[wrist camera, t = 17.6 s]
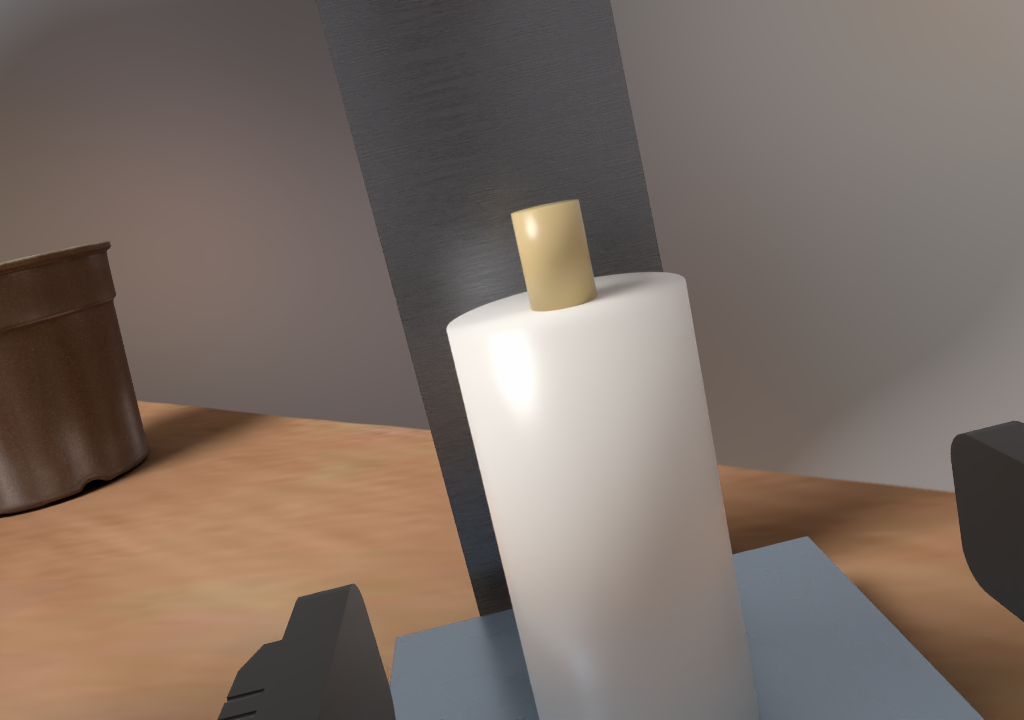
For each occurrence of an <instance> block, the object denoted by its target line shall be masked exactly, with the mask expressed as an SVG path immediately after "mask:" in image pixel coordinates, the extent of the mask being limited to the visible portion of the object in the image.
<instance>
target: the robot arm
mask: <svg viewBox="0 0 1024 720" xmlns="http://www.w3.org/2000/svg"><path fill="white" fill-rule="evenodd" d="M951 463H952V470H953V477H954V485H955V494H956V501H957V509H958V517H959V524H960V532H961V540H962V546H963V551H964V555H965V558H966V561H967V563H968V566H969V568H970V570H971V572H972V574H973V576H974V577H975V579H976V581H977V582H978V583H979V585H980V586H981V587H982V588H983V590H984V591H985V592H986V593H988V594H989V595H990V596H991V597H993V598H994V599H995V600H996V601H998V602H999V603H1000V604H1001V605H1003V606H1004V607H1005V608H1007V609H1008V610H1009V611H1010V612H1012V613H1013V614H1014V615H1015V616H1017V617H1018V618H1019V619H1021V620H1022V621H1023V622H1024V423H1022V422H1019V421H1011V422H1007V423H1003V424H999V425H995V426H991V427H987V428H983V429H980V430H975V431H971V432H967V433H963V434H959V435H957V436H956V437H955V438H954V440H953V442H952V445H951ZM227 701H228V702H227V703H224V706H223V708H222V710H221V713H220V715H219V717H218V720H396V718H395V710H394V704H393V699H392V695H391V691H390V687H389V684H388V680H387V677H386V674H385V670H384V667H383V664H382V660H381V657H380V654H379V650H378V647H377V644H376V640H375V637H374V634H373V630H372V627H371V624H370V620H369V617H368V614H367V610H366V607H365V604H364V601H363V598H362V595H361V593H360V591H359V589H358V587H357V586H356V585H355V584H350V585H346V586H342V587H338V588H334V589H330V590H326V591H322V592H318V593H314V594H310V595H306V596H302V597H299V598H298V599H297V601H296V603H295V606H294V609H293V611H292V614H291V617H290V620H289V622H288V625H287V628H286V631H285V633H284V636H283V639H282V640H280V641H276V642H272V643H268V644H264V645H263V646H262V647H261V648H260V649H259V650H258V651H257V652H256V653H255V654H254V655H253V656H252V657H251V659H250V660H249V661H248V662H247V663H246V664H245V665H244V666H243V667H242V668H241V669H240V670H239V671H238V673H237V675H236V678H235V680H234V682H233V685H232V687H231V689H230V692H229V694H228V696H227Z"/></svg>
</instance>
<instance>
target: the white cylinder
mask: <svg viewBox="0 0 1024 720" xmlns="http://www.w3.org/2000/svg"><path fill="white" fill-rule="evenodd" d="M511 217H512V222H513V227H514V231H515V236H516V241H517V245H518V250H519V255H520V259H521V264H522V269H523V274H524V278H525V283H526V288H527V292H523V293H520V294H516V295H513V296H509V297H506V298H503V299H500V300H497V301H494V302H491V303H488V304H485V305H483V306H480V307H478V308H475V309H473V310H471V311H469V312H466V313H465V314H463V315H461V316H459V317H457V318H456V319H454V320H453V321H452V322H450V323H449V325H448V326H447V329H446V330H447V334H448V338H449V343H450V347H451V351H452V355H453V359H454V363H455V368H456V372H457V376H458V380H459V384H460V389H461V393H462V397H463V401H464V405H465V410H466V414H467V418H468V422H469V426H470V431H471V435H472V439H473V443H474V447H475V452H476V456H477V460H478V464H479V468H480V473H481V477H482V481H483V485H484V489H485V494H486V498H487V502H488V506H489V510H490V514H491V519H492V523H493V527H494V531H495V535H496V540H497V544H498V548H499V552H500V556H501V561H502V565H503V569H504V573H505V577H506V582H507V586H508V590H509V594H510V598H511V603H512V607H513V611H514V615H515V619H516V624H517V628H518V632H519V636H520V640H521V644H522V649H523V653H524V657H525V661H526V665H527V670H528V674H529V678H530V682H531V686H532V691H533V695H534V699H535V703H536V707H537V712H538V716H539V720H759V708H758V702H757V696H756V690H755V684H754V678H753V672H752V667H751V661H750V655H749V649H748V643H747V637H746V631H745V626H744V620H743V614H742V608H741V602H740V596H739V590H738V585H737V579H736V573H735V567H734V561H733V555H732V549H731V544H730V538H729V532H728V526H727V520H726V514H725V509H724V503H723V497H722V491H721V485H720V479H719V473H718V468H717V462H716V456H715V450H714V445H713V439H712V432H711V427H710V421H709V415H708V410H707V403H706V397H705V392H704V387H703V380H702V374H701V369H700V362H699V357H698V350H697V345H696V339H695V334H694V327H693V322H692V315H691V310H690V304H689V298H688V292H687V286H686V281H685V278H684V277H682V276H681V275H678V274H673V273H666V272H637V273H625V274H615V275H607V276H600V277H594V275H593V270H592V265H591V260H590V255H589V250H588V244H587V239H586V234H585V229H584V224H583V219H582V214H581V209H580V203H579V199H571V200H564V201H558V202H553V203H548V204H544V205H539V206H535V207H531V208H527V209H523V210H520V211H516V212H514V213H511Z"/></svg>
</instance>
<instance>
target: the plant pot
mask: <svg viewBox="0 0 1024 720" xmlns="http://www.w3.org/2000/svg"><path fill="white" fill-rule="evenodd" d="M110 247H111V245H110V241H103V242H98V243H92V244H86V245H81V246H75V247H71V248H66V249H61V250H56V251H52V252H47V253H43V254H38V255H33V256H29V257H24V258H20V259H16V260H11V261H7V262H3V263H0V514H6V513H9V514H11V513H16V512H21V511H25V510H29V509H33V508H36V507H40V506H43V505H45V504H47V503H49V502H53V501H56V500H59V499H62V498H65V497H68V496H71V495H74V494H76V493H79V492H81V491H82V490H83V488H84V486H85V485H86V484H87V483H88V482H89V481H92V480H97V479H100V480H105V481H108V480H111V479H113V478H115V477H117V476H118V475H120V474H122V473H124V472H126V471H127V470H129V469H132V468H134V467H135V466H137V465H138V464H139V463H141V462H142V461H143V460H144V458H145V457H146V456H147V455H148V452H149V447H148V444H147V440H146V436H145V433H144V429H143V425H142V421H141V417H140V412H139V408H138V404H137V400H136V396H135V391H134V387H133V383H132V379H131V375H130V371H129V366H128V362H127V358H126V354H125V349H124V345H123V341H122V337H121V332H120V328H119V324H118V319H117V315H116V311H115V307H114V302H113V299H114V297H115V296H116V292H115V288H114V284H113V280H112V275H111V271H110V267H109V262H108V257H107V250H108V249H109V248H110Z"/></svg>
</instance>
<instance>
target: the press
mask: <svg viewBox="0 0 1024 720" xmlns="http://www.w3.org/2000/svg"><path fill="white" fill-rule="evenodd" d="M316 2H317V5H318V10H319V13H320V17H321V20H322V24H323V28H324V32H325V36H326V39H327V43H328V47H329V51H330V55H331V58H332V62H333V66H334V69H335V73H336V77H337V81H338V84H339V88H340V92H341V95H342V100H343V103H344V107H345V110H346V115H347V118H348V122H349V126H350V129H351V133H352V137H353V141H354V145H355V148H356V152H357V156H358V160H359V163H360V167H361V171H362V175H363V178H364V182H365V186H366V190H367V193H368V197H369V200H370V205H371V208H372V212H373V216H374V219H375V223H376V227H377V231H378V234H379V238H380V242H381V245H382V249H383V253H384V257H385V261H386V264H387V268H388V272H389V276H390V279H391V283H392V287H393V291H394V294H395V298H396V302H397V306H398V310H399V313H400V317H401V321H402V325H403V328H404V332H405V335H406V339H407V343H408V347H409V351H410V355H411V358H412V362H413V365H414V369H415V373H416V377H417V381H418V385H419V388H420V392H421V396H422V399H423V403H424V407H425V411H426V414H427V418H428V422H429V426H430V430H431V433H432V437H433V441H434V445H435V448H436V452H437V456H438V460H439V463H440V467H441V471H442V475H443V478H444V482H445V486H446V490H447V493H448V497H449V501H450V505H451V508H452V512H453V516H454V520H455V523H456V527H457V531H458V535H459V538H460V542H461V546H462V550H463V553H464V557H465V561H466V565H467V568H468V572H469V576H470V580H471V583H472V587H473V591H474V595H475V598H476V602H477V606H478V610H479V613H480V617H477V618H473V619H469V620H465V621H461V622H457V623H453V624H449V625H445V626H441V627H437V628H433V629H429V630H425V631H421V632H417V633H413V634H409V635H404V636H400V637H396V643H395V651H394V659H393V667H392V675H391V683H390V691H391V695H392V699H393V704H394V710H395V718H396V720H539V716H538V712H537V707H536V703H535V699H534V695H533V691H532V686H531V682H530V678H529V674H528V670H527V665H526V661H525V657H524V653H523V649H522V644H521V640H520V636H519V632H518V628H517V624H516V619H515V615H514V611H513V607H512V603H511V598H510V594H509V590H508V586H507V582H506V577H505V573H504V569H503V565H502V561H501V556H500V552H499V548H498V544H497V540H496V535H495V531H494V527H493V523H492V519H491V514H490V510H489V506H488V502H487V498H486V494H485V489H484V485H483V481H482V477H481V473H480V468H479V464H478V460H477V456H476V452H475V447H474V443H473V439H472V435H471V431H470V426H469V422H468V418H467V414H466V410H465V405H464V401H463V397H462V393H461V389H460V384H459V380H458V376H457V372H456V368H455V363H454V359H453V355H452V351H451V347H450V343H449V338H448V334H447V330H446V329H447V326H448V325H449V323H450V322H452V321H453V320H454V319H456V318H457V317H459V316H461V315H463V314H465V313H466V312H469V311H471V310H473V309H475V308H478V307H480V306H483V305H485V304H488V303H491V302H494V301H497V300H500V299H503V298H506V297H509V296H513V295H516V294H520V293H523V292H527V288H526V283H525V278H524V274H523V269H522V264H521V259H520V255H519V250H518V245H517V241H516V236H515V231H514V227H513V222H512V217H511V213H514V212H516V211H520V210H523V209H527V208H531V207H535V206H539V205H544V204H548V203H553V202H558V201H564V200H571V199H579V203H580V209H581V214H582V219H583V224H584V229H585V234H586V239H587V244H588V250H589V255H590V260H591V265H592V270H593V275H594V277H600V276H607V275H615V274H625V273H637V272H663V269H662V264H661V259H660V254H659V249H658V244H657V238H656V233H655V228H654V223H653V218H652V213H651V208H650V203H649V198H648V192H647V187H646V182H645V177H644V172H643V167H642V162H641V157H640V152H639V147H638V141H637V136H636V132H635V126H634V121H633V116H632V111H631V106H630V101H629V95H628V90H627V85H626V80H625V76H624V70H623V65H622V60H621V54H620V49H619V44H618V39H617V34H616V29H615V24H614V19H613V13H612V9H611V3H610V0H316ZM733 561H734V567H735V573H736V579H737V585H738V590H739V596H740V602H741V608H742V614H743V620H744V626H745V631H746V637H747V643H748V649H749V655H750V661H751V667H752V672H753V678H754V684H755V690H756V696H757V702H758V708H759V720H984V719H983V718H982V717H981V715H980V714H979V713H978V712H977V711H976V710H975V709H974V708H973V707H972V706H971V705H970V704H969V703H968V702H967V701H966V700H965V699H964V698H963V697H962V696H961V695H960V694H959V693H958V692H957V691H956V690H955V689H954V687H953V686H952V685H951V684H950V683H949V682H948V681H947V680H946V679H945V678H944V677H943V676H942V675H941V674H940V673H939V672H938V671H937V670H936V669H935V668H934V667H933V666H932V665H931V664H930V663H929V662H928V660H927V659H926V658H925V657H924V656H923V655H922V654H921V653H920V652H919V651H918V650H917V649H916V648H915V647H914V646H913V645H912V644H911V643H910V642H909V641H908V640H907V639H906V638H905V637H904V636H903V635H902V634H901V632H900V631H899V630H898V629H897V628H896V627H895V626H894V625H893V624H892V623H891V622H890V621H889V620H888V619H887V618H886V617H885V616H884V615H883V614H882V613H881V612H880V611H879V610H878V609H877V608H876V607H875V605H874V604H873V603H872V602H871V601H870V600H869V599H868V598H867V597H866V596H865V595H864V594H863V593H862V592H861V591H860V590H859V589H858V588H857V587H856V586H855V585H854V584H853V583H852V582H851V581H850V580H849V579H848V577H847V576H846V575H845V574H844V573H843V572H842V571H841V570H840V569H839V568H838V567H837V566H836V565H835V564H834V563H833V562H832V561H831V560H830V559H829V558H828V557H827V556H826V555H825V554H824V553H823V552H822V550H821V549H820V548H819V547H818V546H817V545H816V544H815V543H814V542H813V541H812V540H811V539H810V538H809V537H808V536H805V537H801V538H797V539H793V540H789V541H785V542H781V543H777V544H773V545H769V546H765V547H761V548H757V549H753V550H749V551H745V552H741V553H737V554H733Z"/></svg>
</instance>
